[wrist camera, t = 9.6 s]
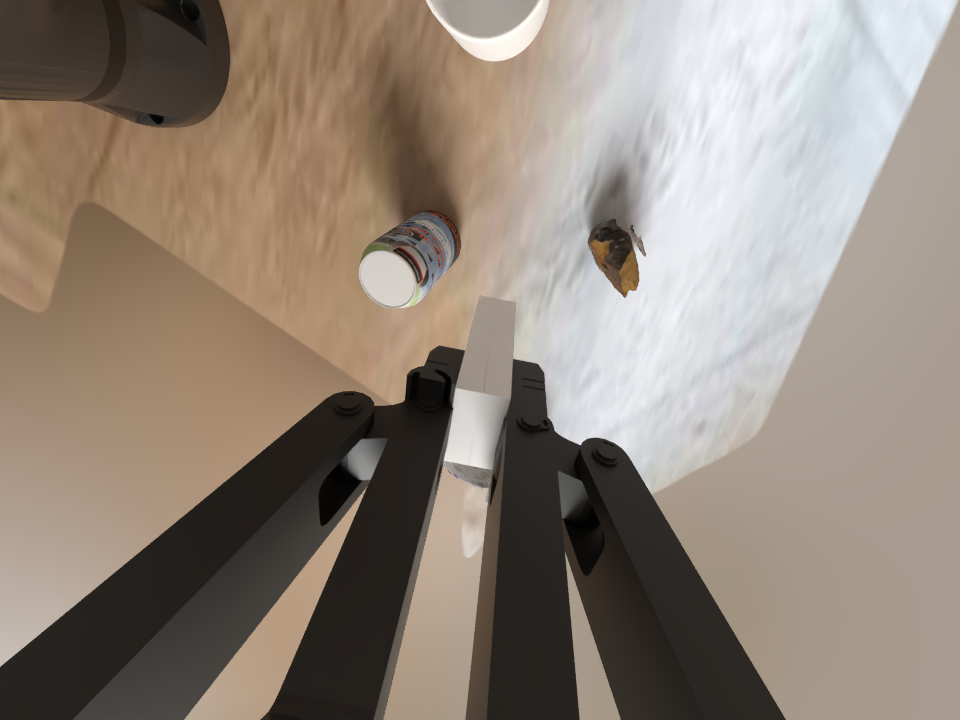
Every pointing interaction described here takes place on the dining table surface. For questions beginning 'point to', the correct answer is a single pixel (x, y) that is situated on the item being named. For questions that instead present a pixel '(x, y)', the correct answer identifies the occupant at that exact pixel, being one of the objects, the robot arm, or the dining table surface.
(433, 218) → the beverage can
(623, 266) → the rock
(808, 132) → the dining table surface
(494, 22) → the mug
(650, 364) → the dining table surface
